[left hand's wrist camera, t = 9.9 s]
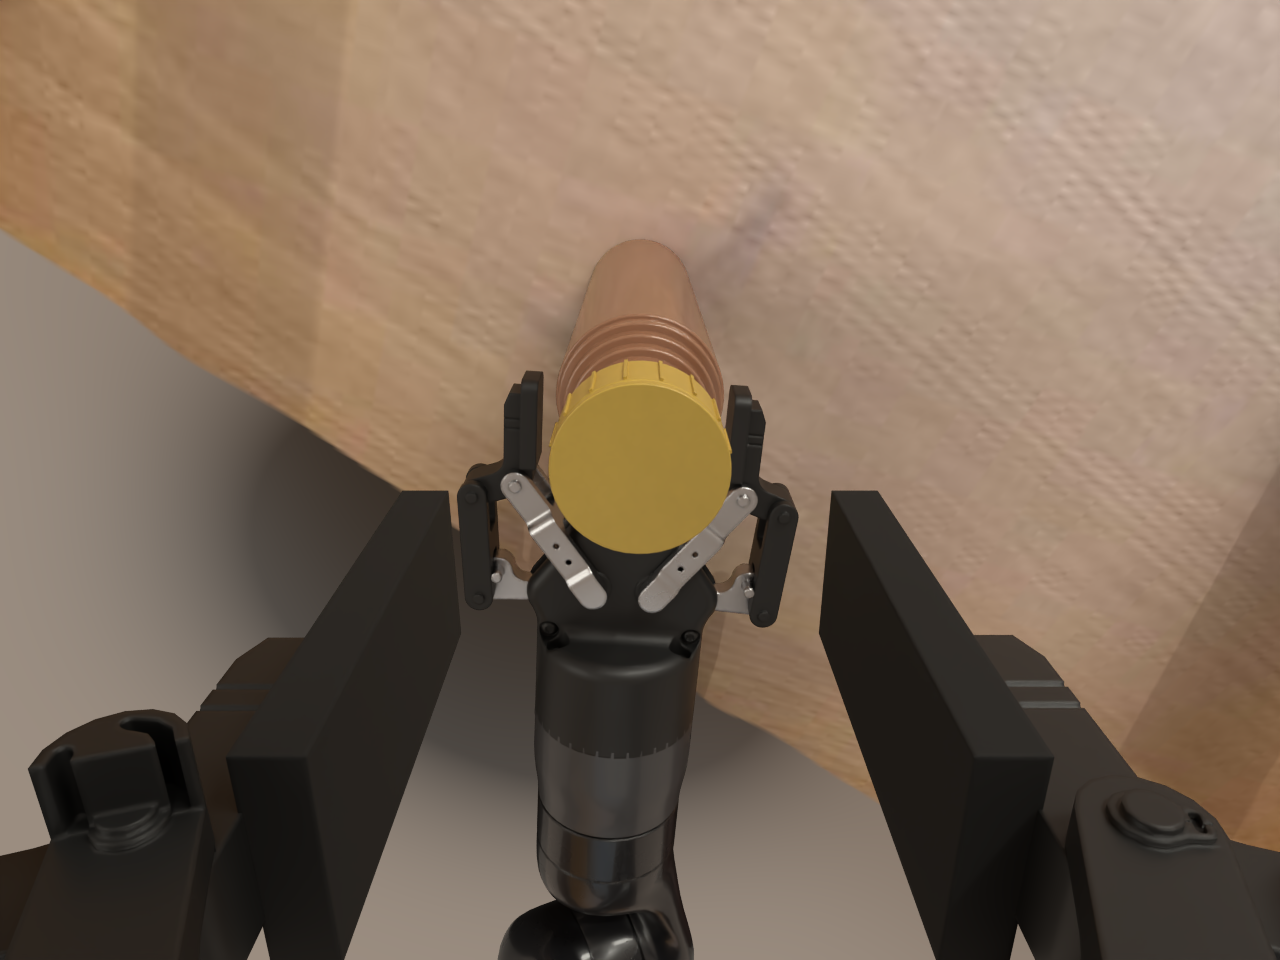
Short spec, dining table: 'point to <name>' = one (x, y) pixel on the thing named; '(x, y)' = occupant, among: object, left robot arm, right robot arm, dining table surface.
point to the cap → (639, 458)
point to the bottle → (639, 320)
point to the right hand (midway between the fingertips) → (636, 382)
